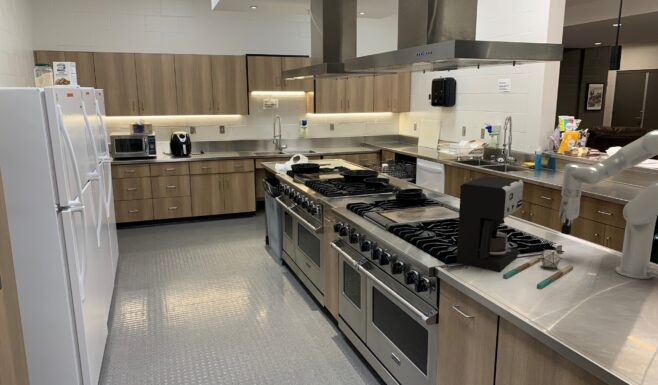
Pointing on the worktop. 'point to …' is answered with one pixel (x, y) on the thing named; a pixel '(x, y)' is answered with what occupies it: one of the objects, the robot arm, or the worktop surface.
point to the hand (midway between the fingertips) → (565, 233)
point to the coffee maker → (487, 221)
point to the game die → (550, 258)
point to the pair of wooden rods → (544, 282)
